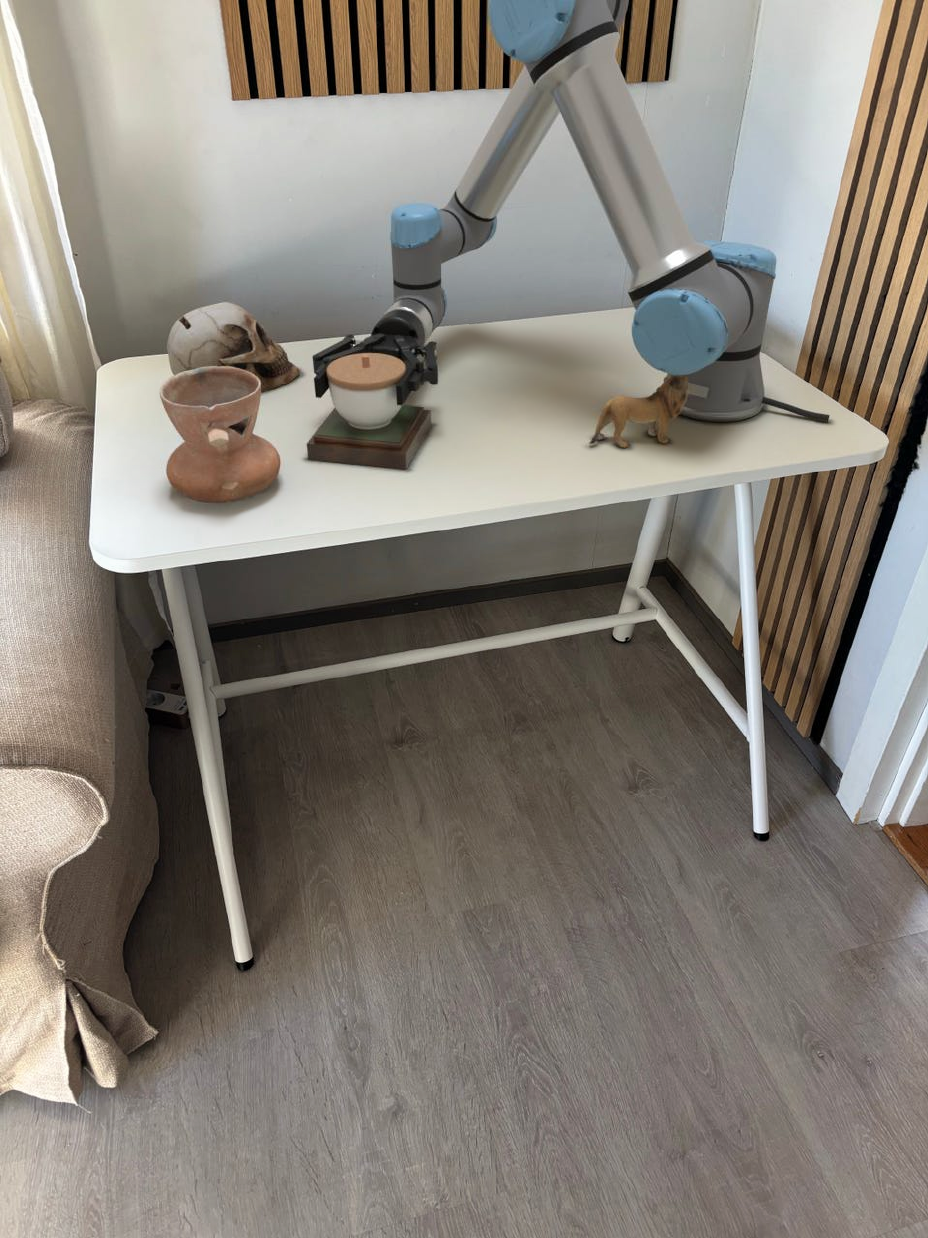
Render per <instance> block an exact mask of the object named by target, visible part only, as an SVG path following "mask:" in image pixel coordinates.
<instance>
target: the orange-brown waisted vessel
mask: <svg viewBox="0 0 928 1238" xmlns="http://www.w3.org/2000/svg"><path fill="white" fill-rule="evenodd" d="M261 396H262V391H261V382H260V380H259V378H258V377H257V376H255V375H254V374H252V373H251V372H248V371H246V370H242V369H239V368H235V367H229V366H220V367H217V366H207V367H200V368H197V369H193V370H189V371H184V372H181V373H179V374H177V375H175V376H174V375H173V376H171V377H169V378H168V379H166V380H165V381H164V382H163V383H162V384H161V386H160V388H159V397H160V401H161V403H162V406H163V408H164V410H165V412H166V414H167V416H168V418H169V421H170V422H171V424H172V426H173V427H174V429H175V430H176V431H177V433H178V435H179V436H180V437H181V439H182V440H183V442H182V443H180V445H178V447H176V448H175V449H174V450H173V451H172V453H171V454H170V456H169V458H168V459H167V461H166V462H167V463H166V467H165V472H166V477H167V480H168V482H169V483H170V485H171V486H172V488H173V489H174V490H175V491H177V492H178V493H179V494H181V495H182V496H184V497H185V498H188V499H190V500H193V501H196V502H200V503H207V504H225V503H226V504H227V503H234V502H238V501H243V500H245V499H249V498H251V497H254V496H256V495H258V494H260V493H261V492H263V491H265V490H266V489H267V488H269V487H270V486H271V485H272V484H273V483H274V482H275V480H276V478H277V477H278V476H279V472H280V469H281V462H282V461H281V457H280V454H279V451H278V450H277V448H276V447H275V446H274V445H273V444H272V443H271V442H270V441H268V440H267V439H265V438H264V437H261V436H259V435H257V434H255V433H253V432H254V429H255V426H256V423H257V419H258V414H259V409H260V405H261Z"/></svg>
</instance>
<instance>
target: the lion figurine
mask: <svg viewBox="0 0 928 1238" xmlns="http://www.w3.org/2000/svg"><path fill="white" fill-rule="evenodd" d="M666 376H667V375H666ZM666 376H665V377H663V382H662V384H661V385H660V386H658V387H657V388H656V391H654V392H653V393H652V394H650V395H648V396H644V397H630V396H625V395H617V396H614V397H612V398H611V399H609V401H607V402H606V403H605V405H604V406H603V408H602V410H601V412H600V413H599V417H598V421H597V424H596V427H595V432H594V436H593V437H592V438H591V440H590V441H589V442H588V444H589V445H593V444H595V443H596V441H597V440H599V441H600V440H603V439H604V438H605V434H604V433H602V431H603V429H604V428H605V427H606V426H608V425H610V424H611V423H613V427H614V432H613V438H614V440H615V441H616V444H617V445H618V446H619V447H620V448H628V446H629V445H628V442H627V441H625V440H623V438H622V434H623V431H624V429H625V427H626V426H627V423H628V422H627V421H628V420H629V421H630V422H632V423H635V424H648V429H647V434H648V435H649V436H651V437H653V436H657V438H658V442H660V443H662V444H667V443H668V442H669V439H668V438H667V437H665V435H666V433H667V430H668V426H669V421H671V420H673V419H676V418H677V417H678V416H679V415H681V414H680V413H681V411H682V408H683V407H684V404H685V403H686V401H687V397H688V395H689V393H690V387H689V383H688V377H686V376H684V375H668V376H667V377H666ZM656 425H658V430H656Z"/></svg>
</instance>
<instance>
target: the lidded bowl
mask: <svg viewBox="0 0 928 1238" xmlns="http://www.w3.org/2000/svg"><path fill="white" fill-rule="evenodd" d="M405 372H406V366H405V364H404V363H403V362H402V361H401V360H400V359H398V358H396V357H393V356H390V355H386V354H379V353H360V354H352V355H348V356H344V357H341V358H339V359H337V360H335V361H333V362H332V363H330V364H329V366H328V367H327V378H328V383H329V389H328V391H329V395H330V398H331V401H332V404H333V407H334V408H336V410H337V412H338V413H339V414H340V415H341V416H342V417H343V418H344V419H345V420H346V421H348V423H349V424H350V425H351V426H352V427H355V428H358V429H364V430H372V429H378V428H382V427H385V426H387V425H388V424H389V423H390V422H391V420H392V419H393V418H394V417H395V416H396V415H397V413H398V412H399V410H400V409H401V406H402V405H397V395H396V385H397V384H398V382H399V381H400V379H401V378H402V376H403V375H404V374H405Z"/></svg>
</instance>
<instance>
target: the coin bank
mask: <svg viewBox="0 0 928 1238" xmlns="http://www.w3.org/2000/svg"><path fill="white" fill-rule="evenodd" d="M166 351H167V355H168V362H169V367H170V370H171V373H172V375H173V376H175V375H177V374H179V373H181V372H184V371H189V370H193V369H197V368H200V367H207V366H217V367H220V366H229V367H235V368H239V369H242V370H246V371H248V372H251V373H252V374H254V375H255V376H257V377H258V378H259V380H260V382H261V392H263V391H269V390H272V389H274V388H278V387H280V386H281V385H288V384H289V383H291V382H292V381H293V380H294V379H295V378H296V377H298V376H300V375H301V371H300V369H299V368H298V366H296V365H295V364H294V363H292V362H291V361H290V360H289V357H288V353H287V352H286V351H285V350H284V347H282V346H281V344H279V343H278V342H276V341H273V340H272V339H270V337H268V335H267V333H266V332H265V329H264V325H262V324H259V322H258V320H257V319H255V317H254V316H253V314H252V313H249V312H248V311H247V310H246V309H245V308H243V307H241V306H240V305H238V304H235V303H233V302H229V301H223V302H219V303H213V304H210V305H206V306H201V307H198V308H196V309H193V310H191V311H189V312H187V313H184V314H183V315H182V316H180V318H178V319H177V320H176V321H175V322H174V324H173V326H172V327H171V329H170V332H169V335H168V338H167V343H166Z"/></svg>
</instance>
